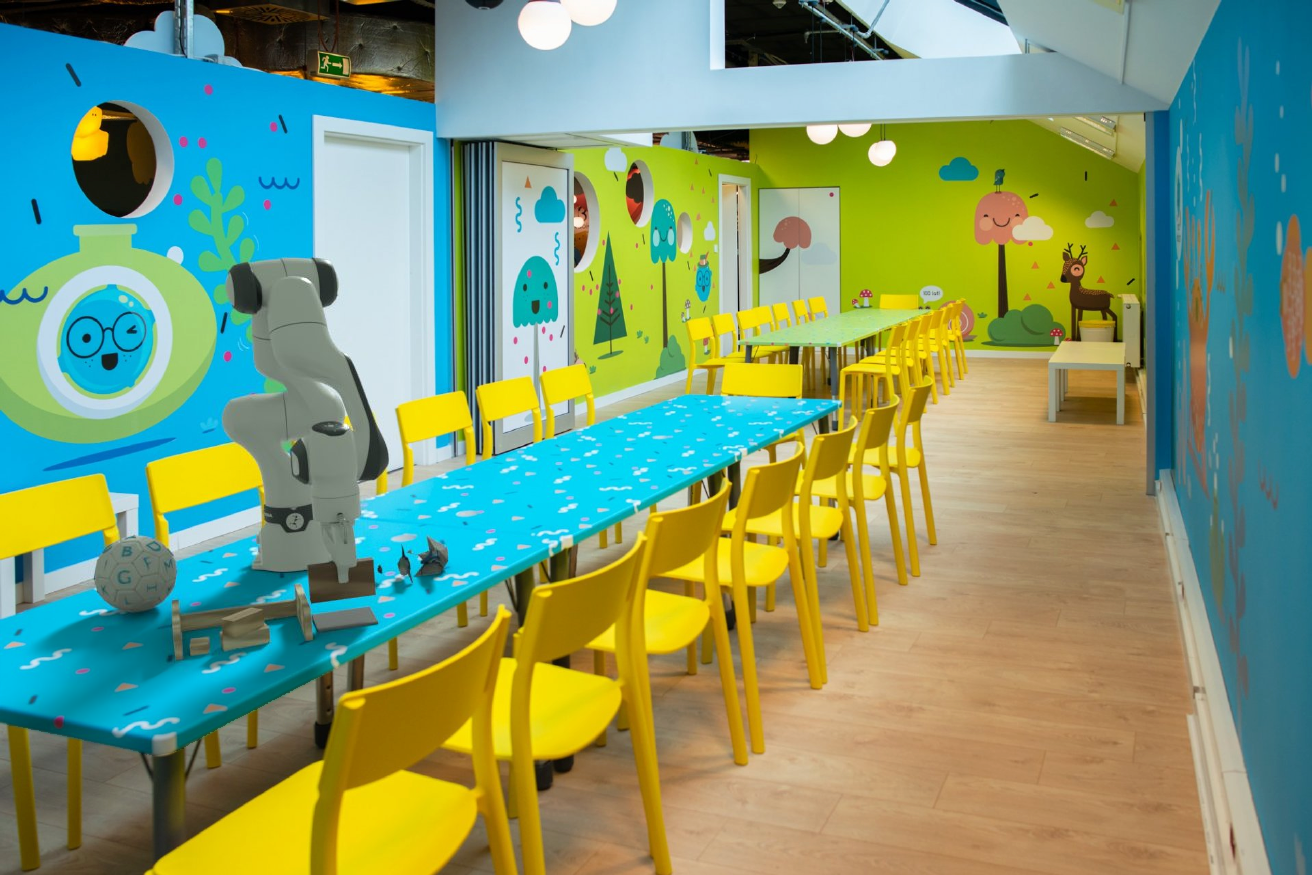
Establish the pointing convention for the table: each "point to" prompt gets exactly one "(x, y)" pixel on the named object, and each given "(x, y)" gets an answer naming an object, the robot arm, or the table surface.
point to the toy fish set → (405, 563)
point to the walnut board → (329, 588)
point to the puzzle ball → (135, 573)
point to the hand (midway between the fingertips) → (341, 579)
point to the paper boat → (435, 567)
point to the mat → (344, 619)
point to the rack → (214, 617)
